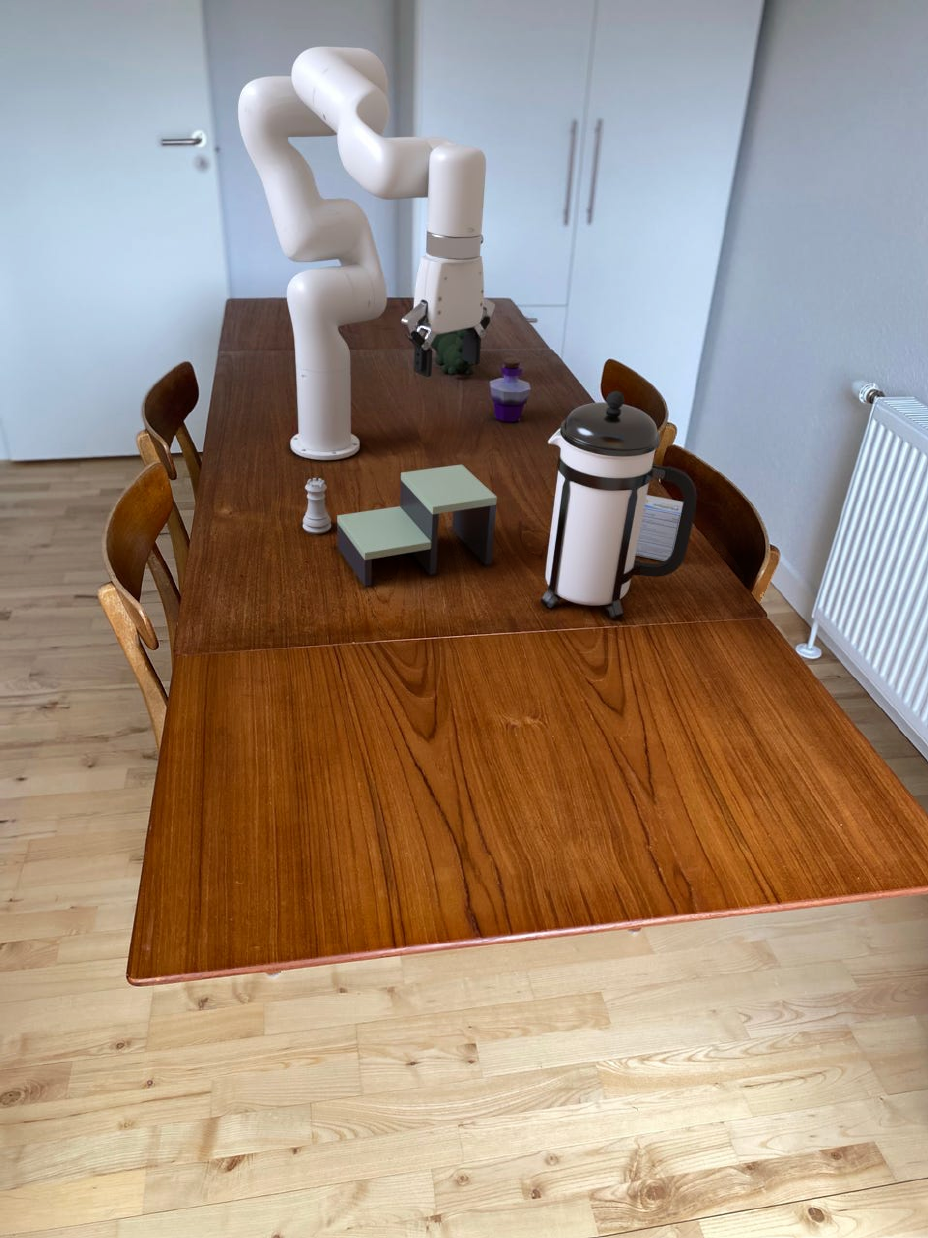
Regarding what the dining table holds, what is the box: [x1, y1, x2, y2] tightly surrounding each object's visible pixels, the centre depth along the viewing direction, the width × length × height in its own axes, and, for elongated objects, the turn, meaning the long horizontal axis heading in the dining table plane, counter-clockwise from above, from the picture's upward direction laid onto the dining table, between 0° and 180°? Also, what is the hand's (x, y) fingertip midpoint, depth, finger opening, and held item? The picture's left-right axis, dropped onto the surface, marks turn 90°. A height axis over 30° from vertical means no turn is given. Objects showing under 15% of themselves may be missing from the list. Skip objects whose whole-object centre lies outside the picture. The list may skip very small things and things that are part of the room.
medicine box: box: [635, 494, 683, 562], centre depth 142 cm, size 8×4×9 cm, turn 71°
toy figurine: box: [426, 326, 475, 376], centre depth 209 cm, size 9×19×25 cm
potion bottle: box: [489, 357, 532, 424], centre depth 186 cm, size 9×9×12 cm
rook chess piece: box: [302, 477, 332, 535], centre depth 142 cm, size 4×4×8 cm
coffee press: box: [540, 390, 697, 621], centre depth 124 cm, size 17×16×30 cm
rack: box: [336, 464, 498, 588], centre depth 136 cm, size 12×20×11 cm, turn 115°
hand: (447, 368), depth 137 cm, fingers open, 9 cm apart
